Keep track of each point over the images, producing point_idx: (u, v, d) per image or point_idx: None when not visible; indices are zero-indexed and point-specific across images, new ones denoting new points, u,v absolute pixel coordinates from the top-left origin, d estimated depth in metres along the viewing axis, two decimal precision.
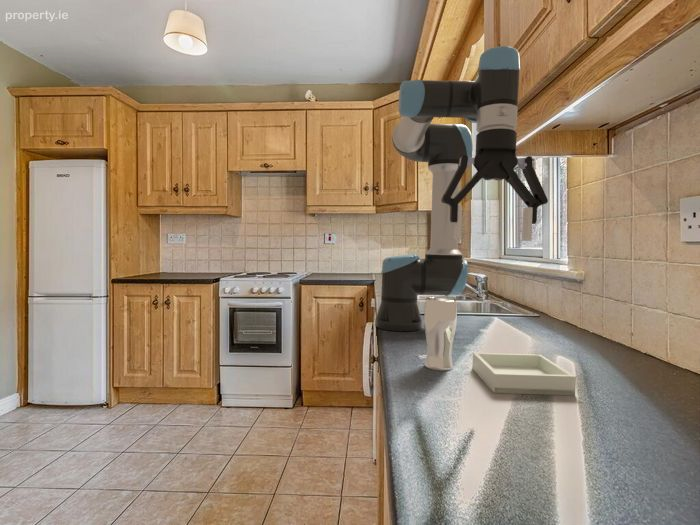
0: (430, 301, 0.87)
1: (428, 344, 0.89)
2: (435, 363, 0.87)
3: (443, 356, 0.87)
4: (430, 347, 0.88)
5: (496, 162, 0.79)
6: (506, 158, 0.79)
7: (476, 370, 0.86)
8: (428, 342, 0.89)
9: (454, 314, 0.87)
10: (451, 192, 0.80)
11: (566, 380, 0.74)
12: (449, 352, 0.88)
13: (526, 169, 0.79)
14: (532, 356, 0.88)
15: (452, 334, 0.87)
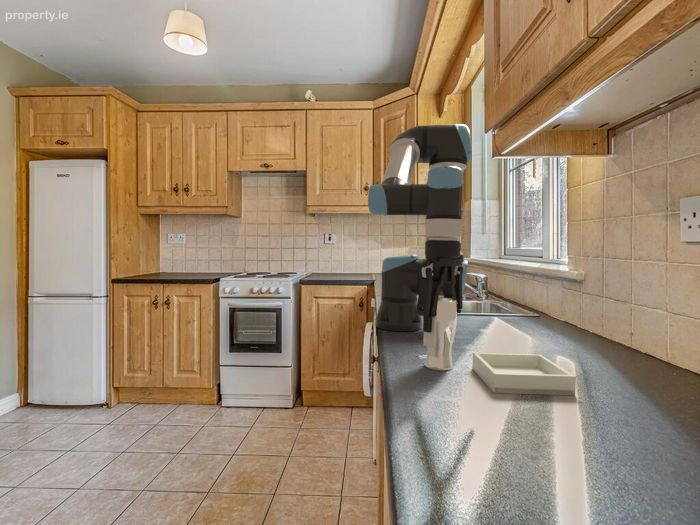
0: None
1: None
2: (435, 363, 0.87)
3: (443, 356, 0.87)
4: None
5: None
6: None
7: (476, 370, 0.86)
8: None
9: (454, 314, 0.87)
10: None
11: (566, 380, 0.74)
12: (449, 352, 0.88)
13: None
14: (532, 356, 0.88)
15: (452, 334, 0.87)
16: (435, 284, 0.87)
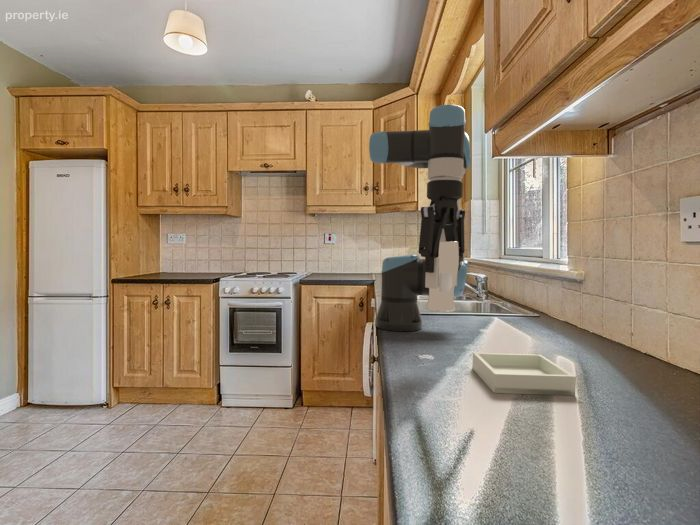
0: None
1: None
2: (437, 304, 0.87)
3: (445, 297, 0.87)
4: (432, 289, 0.88)
5: None
6: None
7: (476, 370, 0.86)
8: None
9: (456, 255, 0.87)
10: None
11: (566, 380, 0.74)
12: (451, 294, 0.88)
13: None
14: (532, 356, 0.88)
15: (454, 275, 0.87)
16: (437, 224, 0.86)
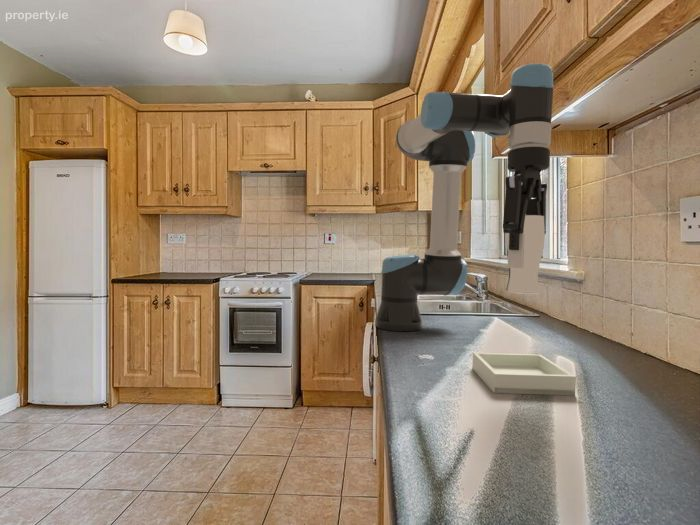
0: None
1: None
2: (521, 286, 0.78)
3: (531, 278, 0.78)
4: (515, 269, 0.79)
5: None
6: None
7: (476, 370, 0.86)
8: None
9: (543, 231, 0.78)
10: None
11: (566, 380, 0.74)
12: (536, 274, 0.79)
13: None
14: (532, 356, 0.88)
15: (540, 253, 0.78)
16: (522, 196, 0.77)
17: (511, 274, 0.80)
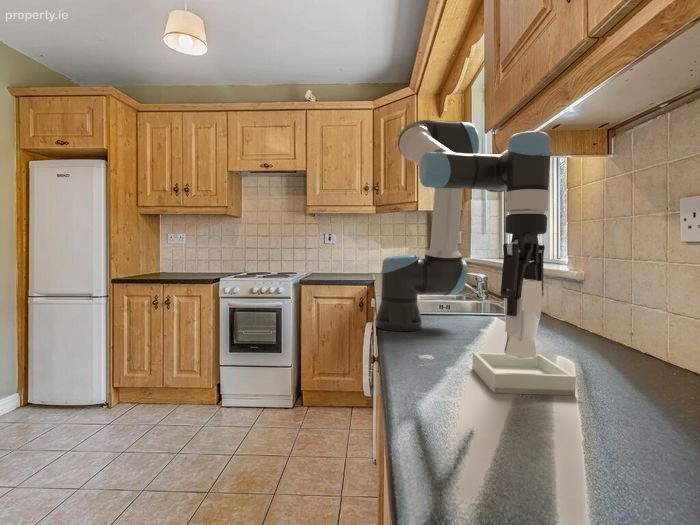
0: None
1: None
2: (519, 350, 0.79)
3: (529, 342, 0.78)
4: None
5: None
6: None
7: (476, 370, 0.86)
8: None
9: (541, 296, 0.78)
10: None
11: (566, 380, 0.74)
12: (534, 338, 0.79)
13: None
14: None
15: (538, 318, 0.79)
16: (519, 262, 0.78)
17: (509, 337, 0.81)
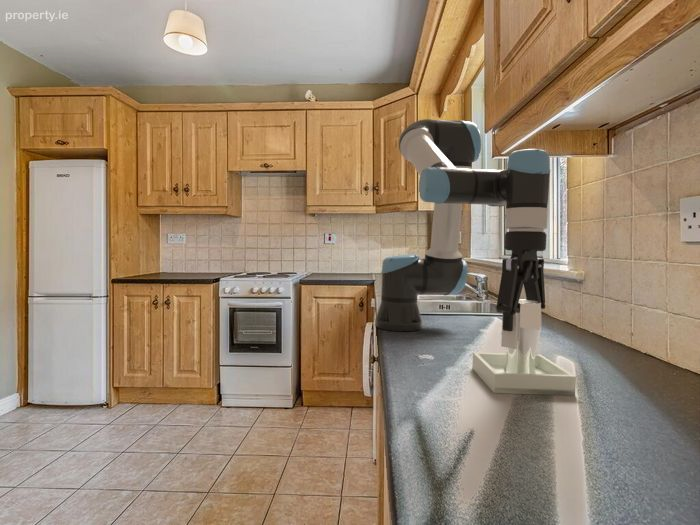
0: None
1: (509, 351, 0.81)
2: (518, 372, 0.79)
3: (528, 364, 0.79)
4: (512, 354, 0.80)
5: None
6: None
7: (476, 370, 0.86)
8: (509, 349, 0.80)
9: (540, 318, 0.79)
10: None
11: (566, 380, 0.74)
12: (533, 360, 0.80)
13: None
14: None
15: (537, 340, 0.79)
16: (518, 278, 0.78)
17: (508, 358, 0.81)
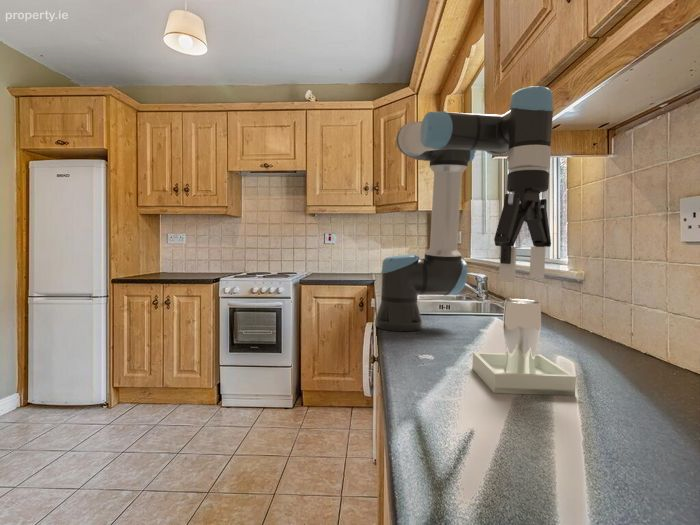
0: (513, 304, 0.79)
1: (509, 351, 0.80)
2: (518, 372, 0.79)
3: (527, 364, 0.79)
4: (512, 354, 0.80)
5: None
6: None
7: (476, 370, 0.86)
8: (509, 349, 0.80)
9: (539, 318, 0.79)
10: None
11: (566, 380, 0.74)
12: (533, 360, 0.80)
13: None
14: None
15: (537, 340, 0.79)
16: (519, 215, 0.77)
17: (508, 358, 0.81)
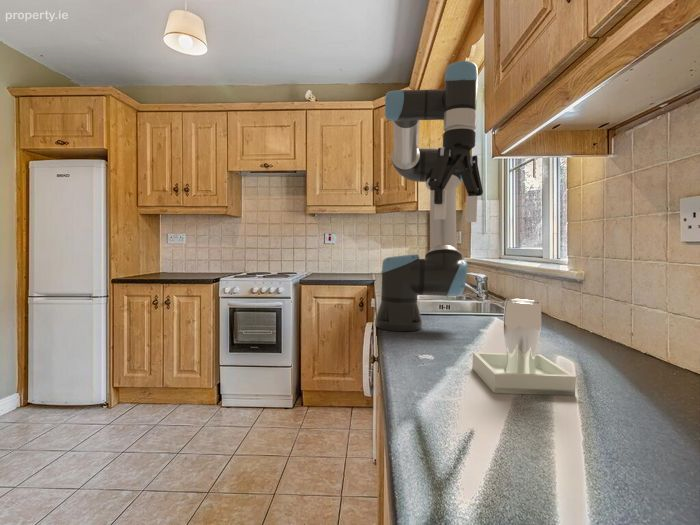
0: (513, 304, 0.79)
1: (509, 351, 0.80)
2: (518, 372, 0.79)
3: (528, 364, 0.79)
4: (512, 354, 0.80)
5: None
6: None
7: (476, 370, 0.86)
8: (509, 349, 0.80)
9: (540, 318, 0.79)
10: None
11: (566, 380, 0.74)
12: (533, 360, 0.80)
13: None
14: None
15: (537, 340, 0.79)
16: (450, 165, 0.94)
17: (508, 358, 0.81)
